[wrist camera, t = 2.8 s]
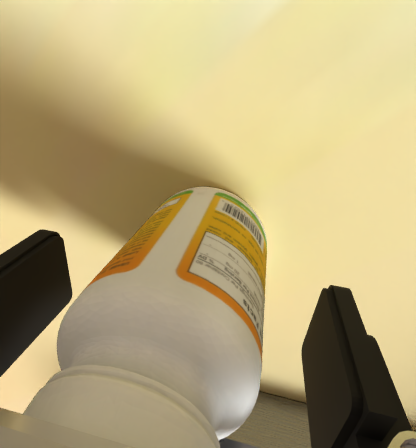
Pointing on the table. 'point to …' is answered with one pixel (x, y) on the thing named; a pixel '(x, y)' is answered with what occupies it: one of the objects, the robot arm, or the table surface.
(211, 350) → the supplement bottle
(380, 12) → the table surface
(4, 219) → the table surface
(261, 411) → the dial scale
